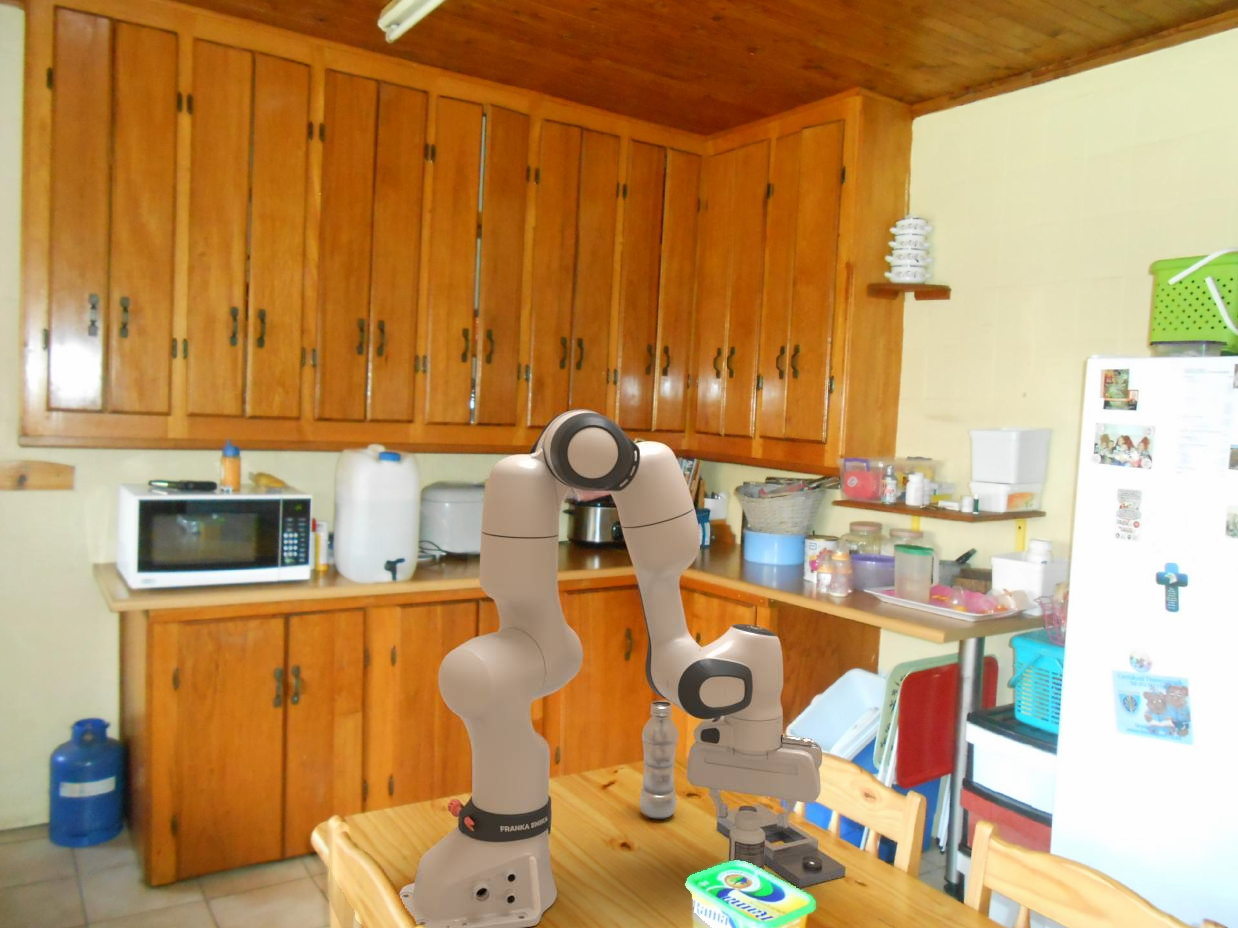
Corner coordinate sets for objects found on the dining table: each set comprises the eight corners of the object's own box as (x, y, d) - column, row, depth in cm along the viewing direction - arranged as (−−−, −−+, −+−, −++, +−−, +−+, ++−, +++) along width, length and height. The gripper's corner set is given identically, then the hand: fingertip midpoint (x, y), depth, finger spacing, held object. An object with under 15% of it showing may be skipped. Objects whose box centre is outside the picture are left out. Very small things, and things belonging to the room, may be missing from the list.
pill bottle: (770, 881, 143) (773, 818, 142) (744, 889, 140) (746, 825, 139) (747, 866, 147) (749, 805, 147) (720, 874, 144) (723, 812, 144)
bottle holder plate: (799, 888, 141) (800, 863, 140) (716, 829, 160) (717, 807, 160) (845, 876, 145) (846, 852, 145) (759, 820, 164) (760, 799, 164)
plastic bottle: (682, 813, 166) (686, 702, 165) (663, 827, 160) (668, 712, 159) (651, 804, 169) (655, 695, 169) (631, 817, 164) (635, 704, 163)
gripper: (825, 733, 142) (824, 824, 142) (696, 717, 149) (695, 803, 149) (818, 746, 136) (817, 840, 136) (683, 729, 143) (683, 818, 144)
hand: (752, 821), depth 143 cm, fingers open, 8 cm apart
